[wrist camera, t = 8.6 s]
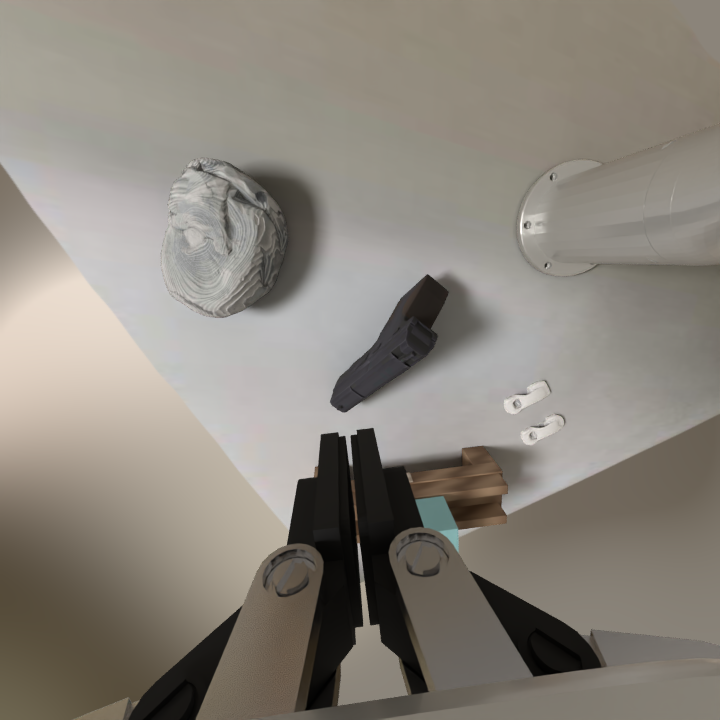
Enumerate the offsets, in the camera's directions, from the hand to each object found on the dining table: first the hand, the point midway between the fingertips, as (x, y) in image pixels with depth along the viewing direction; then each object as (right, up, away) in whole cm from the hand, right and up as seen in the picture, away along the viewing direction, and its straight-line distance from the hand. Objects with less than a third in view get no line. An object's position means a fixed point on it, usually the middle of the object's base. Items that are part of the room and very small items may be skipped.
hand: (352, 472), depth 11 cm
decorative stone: (-15, +17, +28) cm, 36 cm away
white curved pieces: (+25, -4, +37) cm, 45 cm away
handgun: (+3, +6, +32) cm, 33 cm away
